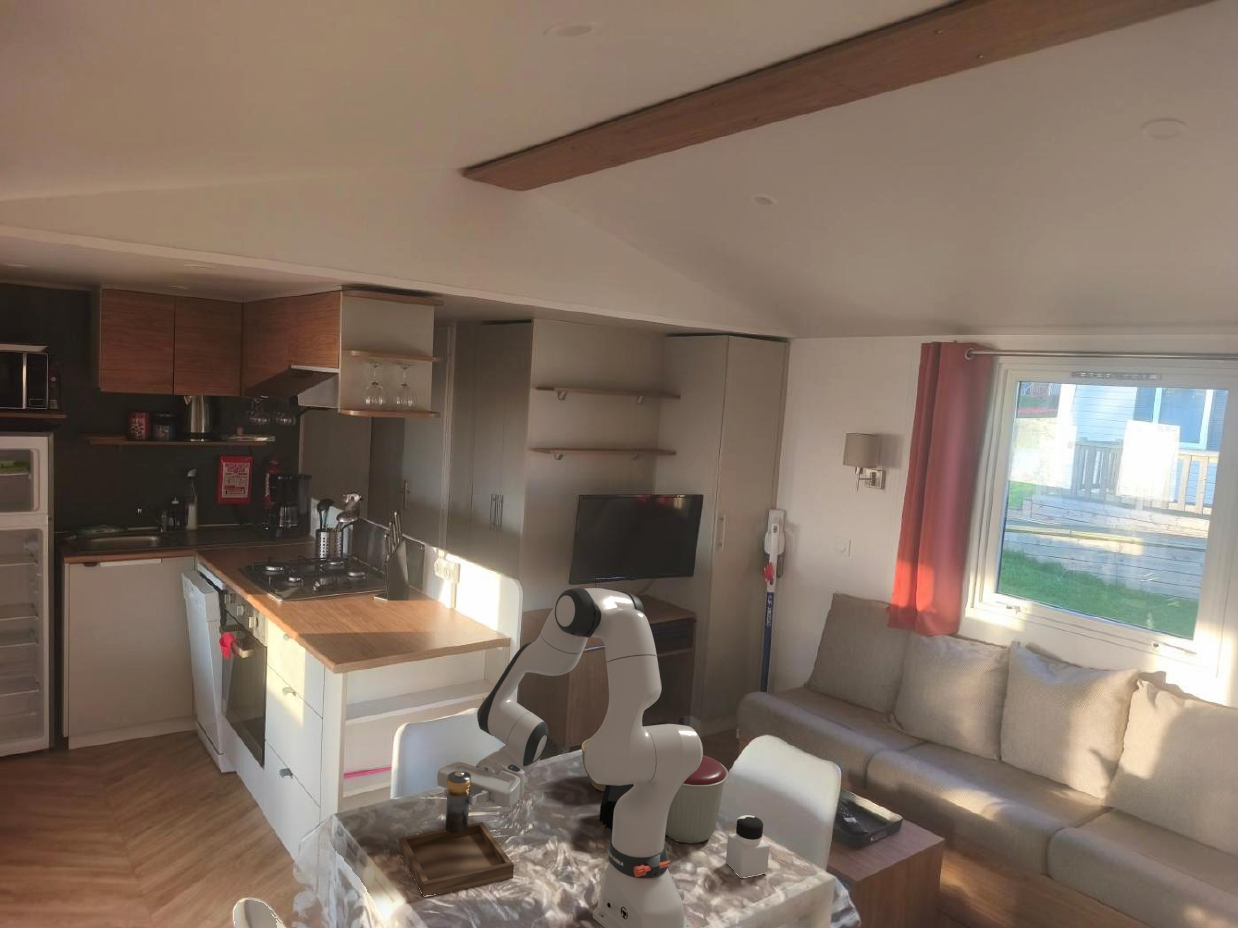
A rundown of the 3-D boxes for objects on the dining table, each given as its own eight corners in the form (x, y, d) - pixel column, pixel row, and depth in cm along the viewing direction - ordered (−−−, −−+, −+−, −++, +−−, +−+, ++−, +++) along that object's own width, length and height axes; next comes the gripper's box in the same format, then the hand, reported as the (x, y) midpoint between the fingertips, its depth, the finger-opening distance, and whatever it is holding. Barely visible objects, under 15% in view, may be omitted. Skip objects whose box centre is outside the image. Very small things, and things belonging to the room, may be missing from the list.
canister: (727, 854, 204) (734, 769, 203) (651, 849, 204) (658, 764, 202) (718, 817, 222) (724, 738, 221) (648, 812, 222) (654, 734, 220)
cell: (471, 830, 191) (474, 775, 190) (448, 835, 188) (452, 779, 187) (463, 819, 195) (466, 765, 194) (441, 823, 193) (444, 769, 192)
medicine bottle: (767, 875, 197) (771, 824, 196) (740, 879, 194) (744, 828, 193) (751, 858, 203) (755, 810, 202) (725, 862, 201) (729, 813, 200)
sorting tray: (513, 877, 188) (513, 864, 188) (423, 897, 179) (424, 884, 179) (481, 833, 206) (482, 821, 206) (398, 850, 196) (399, 837, 196)
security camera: (632, 808, 224) (635, 771, 223) (626, 844, 206) (629, 804, 205) (606, 805, 225) (609, 768, 224) (597, 841, 206) (600, 801, 205)
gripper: (458, 750, 208) (421, 771, 195) (530, 772, 199) (496, 796, 187) (457, 775, 208) (420, 798, 196) (528, 798, 200) (494, 823, 187)
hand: (458, 797), depth 191 cm, fingers closed on cell, 5 cm apart
